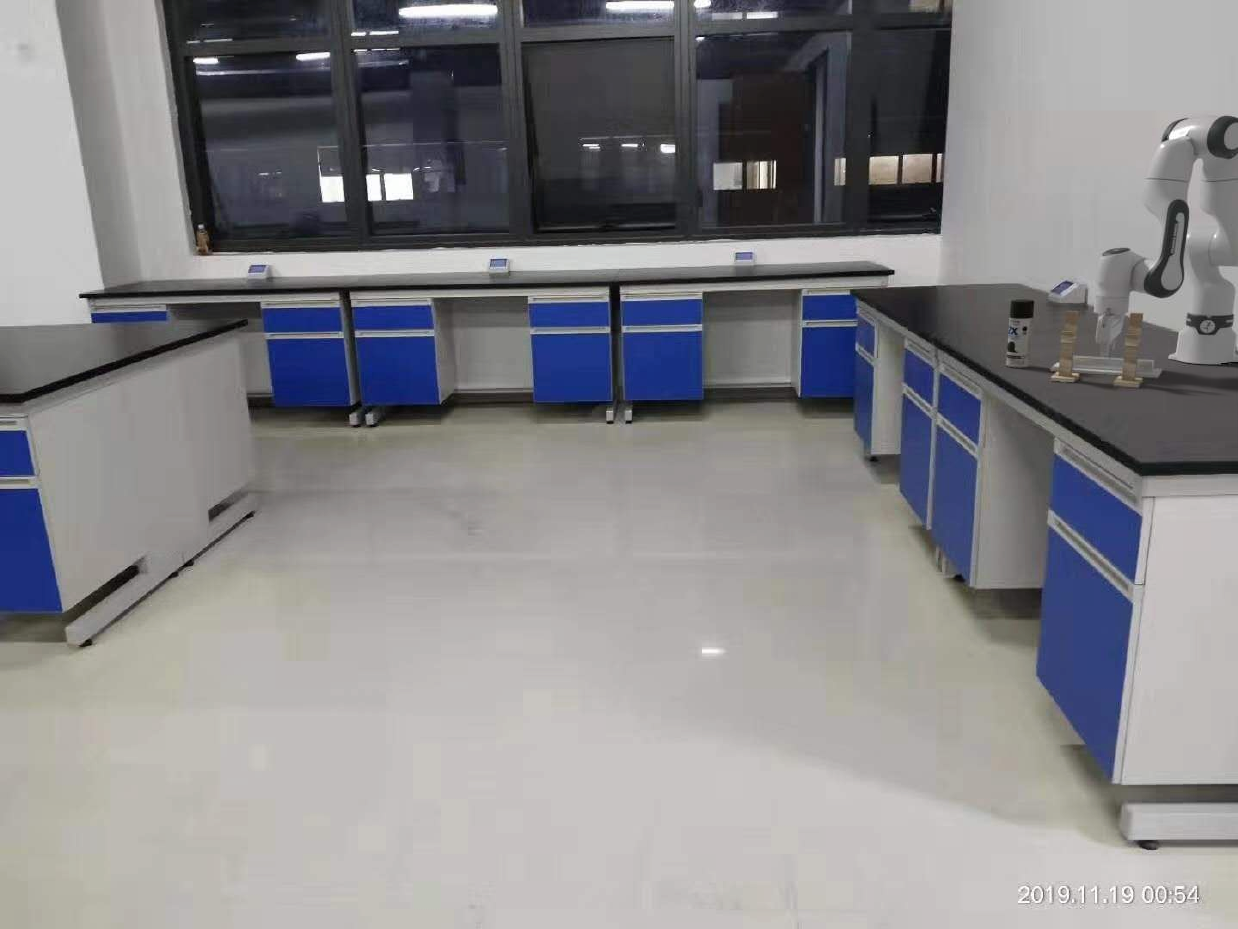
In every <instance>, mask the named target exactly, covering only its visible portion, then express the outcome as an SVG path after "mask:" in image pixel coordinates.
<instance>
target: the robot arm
mask: <svg viewBox="0 0 1238 929" xmlns="http://www.w3.org/2000/svg"><path fill="white" fill-rule="evenodd" d="M1160 142H1161V143H1159V145H1157V148H1156V149H1155V152H1154V154H1153V155H1152V158H1151V160H1150V163H1149V166H1148V167H1147V168H1148V169H1147V171H1146V174H1145V179H1144V183H1143V188H1142V194H1141V196H1142V197H1141V201H1142V203H1143V206H1144V207H1145V208H1146V210H1147V211H1148V212H1150V213H1151V214H1152V215H1154V216H1155V217H1156V219H1157V220H1158V221H1159V223H1160V225H1161V235H1160V236H1161V237H1160V241H1159V248H1158V254H1157V255H1158V256H1157V258H1156V259H1154V258H1148V257H1145V256H1142V255H1139V253H1138V254H1137V253H1135V252H1134V251H1133V250H1132V249H1131V248H1129V247H1116V248H1115V247H1114V248H1111V249H1108V250H1105V251H1104V252H1103V253H1102V254H1101V256H1100V258H1099V259H1098V260H1099V261H1098V264H1097V271H1096V285H1097V288H1096V292H1095V293H1094V294H1095V295H1094V304H1093V306H1094V307H1093V312H1094V314H1097V315H1098V316H1097V318H1098V319H1097V324H1096V333H1095V343H1096V344H1099V350H1100V355H1099V357H1109V352H1113V351H1114V350H1115V344H1116V340H1117V336H1118V335H1120V334H1121V332H1122V331H1123V326H1124V323H1125V322H1124V321H1125V315H1126V314H1127V313H1129V307H1130V297H1131V294H1130V293H1131V292H1134V293H1135V292H1136V293H1139V294H1145V295H1149V296H1152V297H1155V298H1158V299H1167V298H1169V297H1172V296H1173V295H1175V294H1176V293H1177V292H1178V291H1179V290H1180V289H1181V287H1182V286H1183V284H1184V280H1185V273H1186V274H1187V277H1188V281H1189V284H1190V296H1189V297H1190V298H1189V310H1188V312H1187V313H1186V317H1185V325H1186V326H1185V327H1184V328H1183V329H1181V331H1178V336H1177V344H1176V350H1175V352H1174V353H1171V354H1169V355H1168V360H1174V361H1180V362H1183V363H1188V364H1189V363H1190V364H1198V365H1222V364H1221V363H1227V362H1238V354H1237V353H1236V350H1237V348H1238V347H1237V338H1238V334H1237V333H1236V331H1234V329H1233V326H1234V320H1235V314H1234V306H1235V298H1236V287H1235V285H1234V284H1233V282H1231V281H1230V280H1228V279H1226V278H1225V277H1223V275H1222V274H1221V271H1220V268H1219V267H1237V268H1238V117H1236V116H1232V115H1223V116H1221V115H1203V116H1202V115H1201V116H1196V117H1191V118H1190V117H1189V118H1188V117H1185V118H1180V119H1177V120H1175V121H1172V122H1171V123H1170V124H1169V125H1168V126H1167V127H1166V128H1165V130H1164V133H1163V135H1162V137H1161V141H1160ZM1198 159H1201V160H1202V168H1201V177H1200V189H1199V190H1200V191H1199V192H1200V193H1199V195H1200V196H1199V206H1200V209H1201V210H1202V212H1204V214H1207V215H1209V216H1210V217H1212V218H1213V219H1214V221H1215V222H1216V224H1217V226H1197V227H1190V228H1189V221H1190V207H1189V205H1188V194H1189V187H1190V183H1191V179H1192V174H1193V169H1194V164H1195V163H1196V161H1197V160H1198Z"/></svg>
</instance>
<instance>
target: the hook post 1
mask: <svg viewBox="0 0 1238 929" xmlns="http://www.w3.org/2000/svg"><path fill="white" fill-rule="evenodd" d="M1079 312H1080V311H1079V310H1066V312H1065V322H1064V330H1061V332H1060V340H1059V342H1060V354H1059V372H1058V371H1055V373H1054V374H1053V375H1052V376H1050V382H1052V381H1060V382H1059V383H1066V382H1074V381H1075V380H1076V381H1077V380H1078V379H1079V378H1080V373H1074V372H1072V369H1073V358H1074V356H1075V344H1076V340H1077V334H1078V324H1079ZM1076 381H1075V382H1076ZM1075 382H1074V383H1075Z"/></svg>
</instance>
